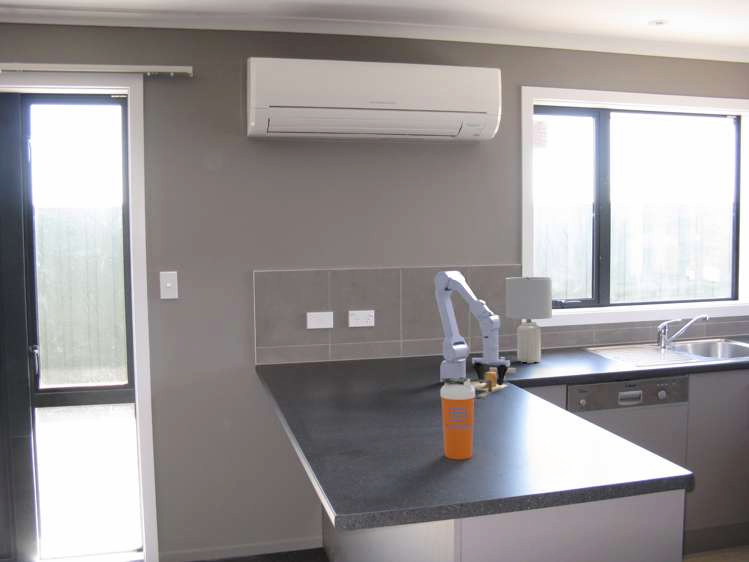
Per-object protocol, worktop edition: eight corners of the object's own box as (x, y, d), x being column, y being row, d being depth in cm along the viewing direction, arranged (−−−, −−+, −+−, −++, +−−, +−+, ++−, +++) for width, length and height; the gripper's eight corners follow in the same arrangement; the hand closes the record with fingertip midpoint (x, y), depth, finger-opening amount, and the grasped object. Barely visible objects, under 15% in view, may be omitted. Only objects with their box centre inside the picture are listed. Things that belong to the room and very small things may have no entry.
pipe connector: (515, 385, 268) (515, 359, 267) (489, 385, 270) (489, 359, 269) (515, 380, 277) (515, 355, 277) (490, 380, 279) (490, 355, 279)
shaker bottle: (438, 451, 186) (437, 376, 185) (471, 449, 187) (470, 375, 185) (444, 461, 177) (443, 383, 176) (479, 460, 178) (478, 381, 177)
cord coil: (483, 386, 262) (483, 373, 261) (488, 384, 265) (488, 371, 265) (493, 387, 259) (493, 374, 259) (498, 385, 263) (498, 372, 262)
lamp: (501, 359, 329) (500, 276, 327) (542, 357, 331) (542, 275, 329) (514, 366, 309) (513, 278, 307) (558, 364, 311) (558, 277, 309)
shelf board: (448, 395, 253) (447, 381, 253) (475, 384, 271) (474, 371, 271) (483, 399, 245) (483, 384, 245) (508, 388, 264) (508, 374, 263)
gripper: (468, 347, 262) (468, 383, 263) (504, 350, 254) (504, 387, 255) (476, 345, 268) (476, 380, 269) (512, 348, 260) (512, 384, 261)
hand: (491, 384), depth 262 cm, fingers open, 7 cm apart
